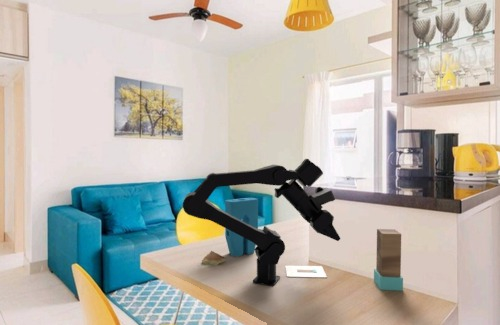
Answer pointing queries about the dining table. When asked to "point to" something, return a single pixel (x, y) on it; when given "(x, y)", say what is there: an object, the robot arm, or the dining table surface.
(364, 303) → the dining table surface
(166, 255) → the dining table surface
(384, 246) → the walnut brick
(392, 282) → the teal base block
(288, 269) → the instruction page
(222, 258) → the shard
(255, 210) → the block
